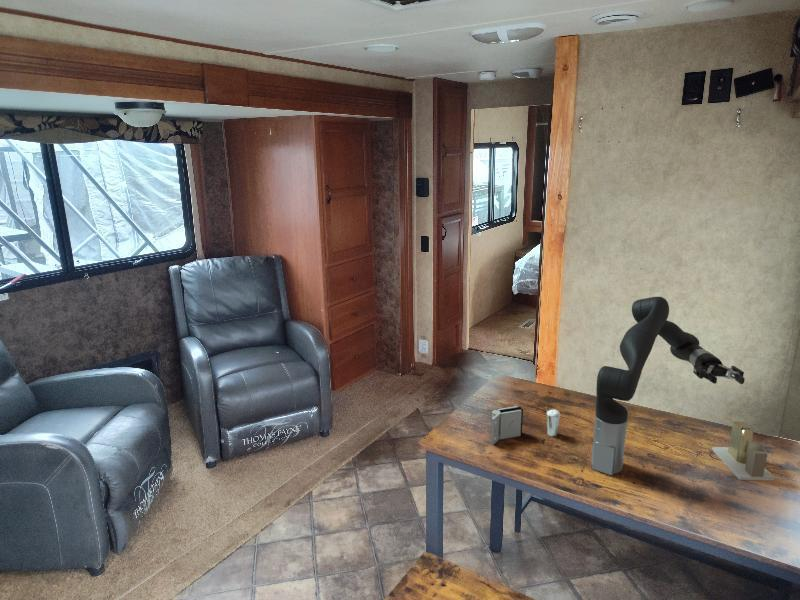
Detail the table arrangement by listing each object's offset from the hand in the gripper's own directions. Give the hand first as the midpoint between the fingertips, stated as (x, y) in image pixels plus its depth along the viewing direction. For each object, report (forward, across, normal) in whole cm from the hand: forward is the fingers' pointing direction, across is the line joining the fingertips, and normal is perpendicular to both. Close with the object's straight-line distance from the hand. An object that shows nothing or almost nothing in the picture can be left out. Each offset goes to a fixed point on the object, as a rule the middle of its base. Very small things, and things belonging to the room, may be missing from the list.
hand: (729, 381), depth 175 cm
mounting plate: (+13, 0, +22) cm, 26 cm away
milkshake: (-4, -56, +23) cm, 60 cm away
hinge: (-1, -72, +23) cm, 76 cm away
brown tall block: (+11, 0, +21) cm, 24 cm away
